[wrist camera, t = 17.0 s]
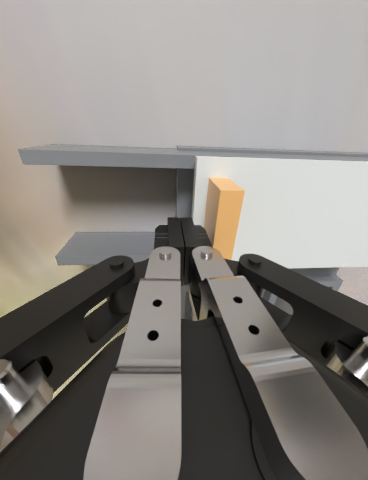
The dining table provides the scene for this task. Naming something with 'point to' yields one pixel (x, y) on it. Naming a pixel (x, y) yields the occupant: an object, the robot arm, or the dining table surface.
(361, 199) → the lid
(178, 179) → the housing
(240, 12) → the dining table surface
